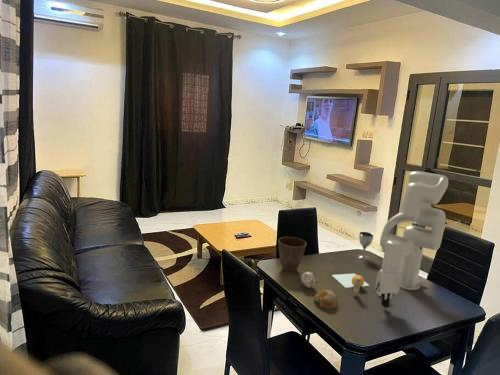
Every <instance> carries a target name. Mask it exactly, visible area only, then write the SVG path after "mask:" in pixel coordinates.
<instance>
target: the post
mask: <svg viewBox="0 0 500 375" xmlns="http://www.w3.org/2000/svg"><path fill="white" fill-rule="evenodd" d="M360 281H361V278H359V277H355V282H354V287H353V291H352V297H354V298H358V297H359V294H360V288H361V287H360Z"/></svg>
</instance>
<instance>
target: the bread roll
mask: <svg viewBox="0 0 500 375" xmlns="http://www.w3.org/2000/svg"><path fill="white" fill-rule="evenodd" d="M313 302H314V303H315V304H316V305H317V306H319V307H320V308H323V309H335V308H337V307H338V296H337V295H336V293H334V291H332V290H331V289H330V290H328V289H323V290H319V291H318V292H317V293H316V294H315V295H314V299H313Z"/></svg>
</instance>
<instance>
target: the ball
mask: <svg viewBox="0 0 500 375" xmlns="http://www.w3.org/2000/svg"><path fill="white" fill-rule="evenodd" d="M355 277H359V278H361V281H360V288H362V287H361V286H363V284H364V281H365V279H364V278H363V276H362V275H359V274H356V275H355V276H354V277H353V278H352V284H353V285H354V282H355ZM363 287H364V286H363Z"/></svg>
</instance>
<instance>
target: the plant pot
mask: <svg viewBox="0 0 500 375" xmlns="http://www.w3.org/2000/svg"><path fill="white" fill-rule="evenodd" d="M306 247H307V242H306V241H305V240H303V239H301V238H298V237H293V236H284V237H283V236H282V237H280V238H279V239H278V254H279V260H280V265H281V269H282V271H284V272H286V273H295V272H296V271H297V270H298V268H299V266H300V264H301V262H302V260H303V257H304V254H305V251H306Z"/></svg>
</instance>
